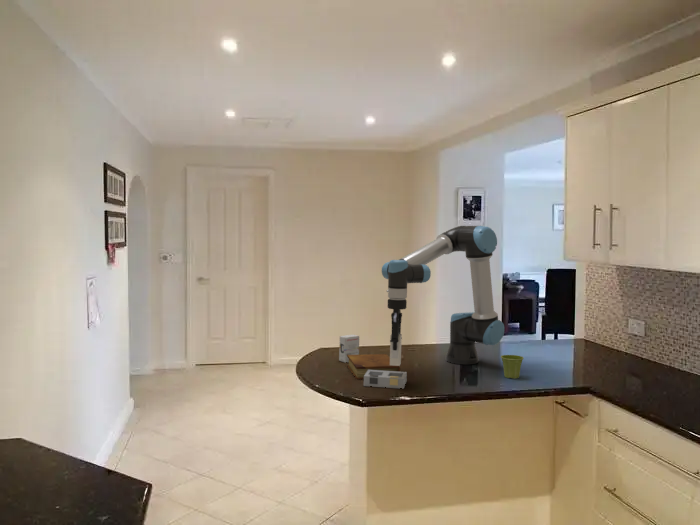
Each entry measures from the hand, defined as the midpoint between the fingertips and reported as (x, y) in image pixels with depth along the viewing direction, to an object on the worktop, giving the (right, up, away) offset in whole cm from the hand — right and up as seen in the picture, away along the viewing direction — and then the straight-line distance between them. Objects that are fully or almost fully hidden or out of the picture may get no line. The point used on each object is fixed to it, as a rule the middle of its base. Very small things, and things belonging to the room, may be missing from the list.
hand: (395, 356), depth 242 cm
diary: (-8, -11, +21) cm, 25 cm away
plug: (0, -3, 0) cm, 3 cm away
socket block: (-4, -11, +2) cm, 12 cm away
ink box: (-19, -9, +41) cm, 46 cm away
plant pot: (+51, -11, +16) cm, 54 cm away
